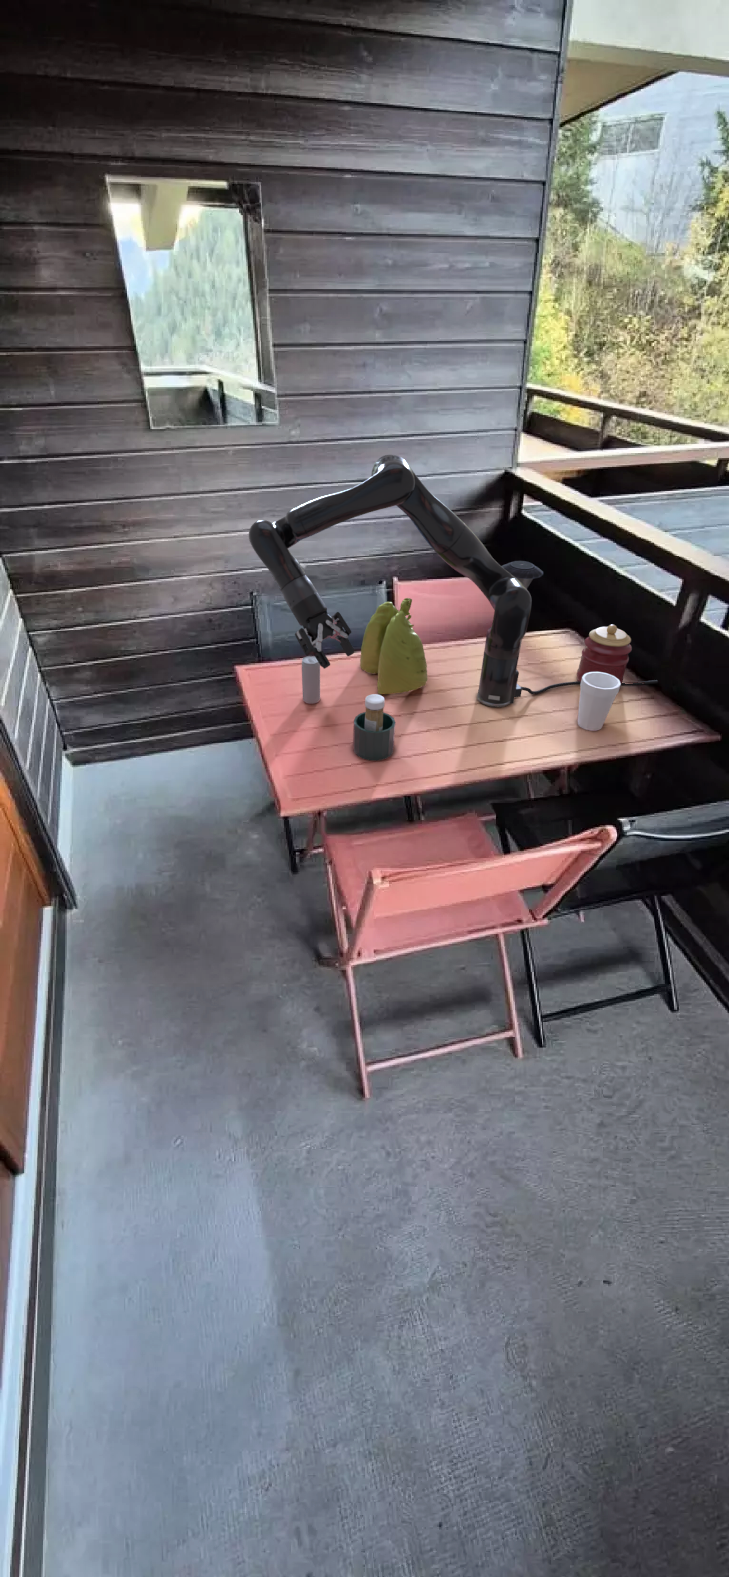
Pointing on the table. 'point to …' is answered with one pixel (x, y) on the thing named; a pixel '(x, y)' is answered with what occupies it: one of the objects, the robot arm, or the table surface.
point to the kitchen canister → (605, 652)
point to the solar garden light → (523, 571)
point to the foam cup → (596, 699)
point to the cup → (373, 739)
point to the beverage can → (310, 679)
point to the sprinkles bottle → (374, 712)
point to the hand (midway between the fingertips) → (339, 660)
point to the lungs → (393, 650)
